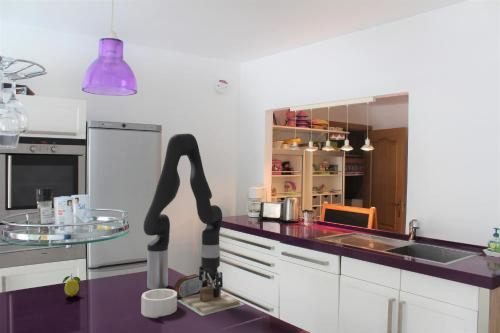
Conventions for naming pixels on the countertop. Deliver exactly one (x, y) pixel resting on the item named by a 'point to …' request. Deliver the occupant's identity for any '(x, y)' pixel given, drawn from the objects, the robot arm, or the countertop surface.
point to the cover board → (210, 304)
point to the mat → (207, 312)
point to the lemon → (71, 285)
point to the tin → (188, 285)
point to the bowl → (158, 302)
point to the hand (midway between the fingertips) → (210, 294)
